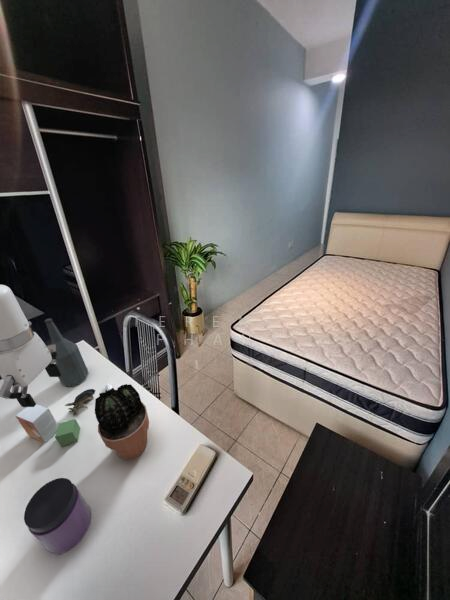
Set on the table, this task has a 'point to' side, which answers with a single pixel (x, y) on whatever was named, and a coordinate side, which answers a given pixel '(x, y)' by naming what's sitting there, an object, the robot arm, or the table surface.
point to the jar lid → (50, 505)
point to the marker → (108, 386)
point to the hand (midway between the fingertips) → (43, 390)
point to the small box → (38, 422)
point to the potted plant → (122, 421)
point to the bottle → (67, 358)
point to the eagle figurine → (81, 400)
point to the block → (67, 432)
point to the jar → (67, 528)
